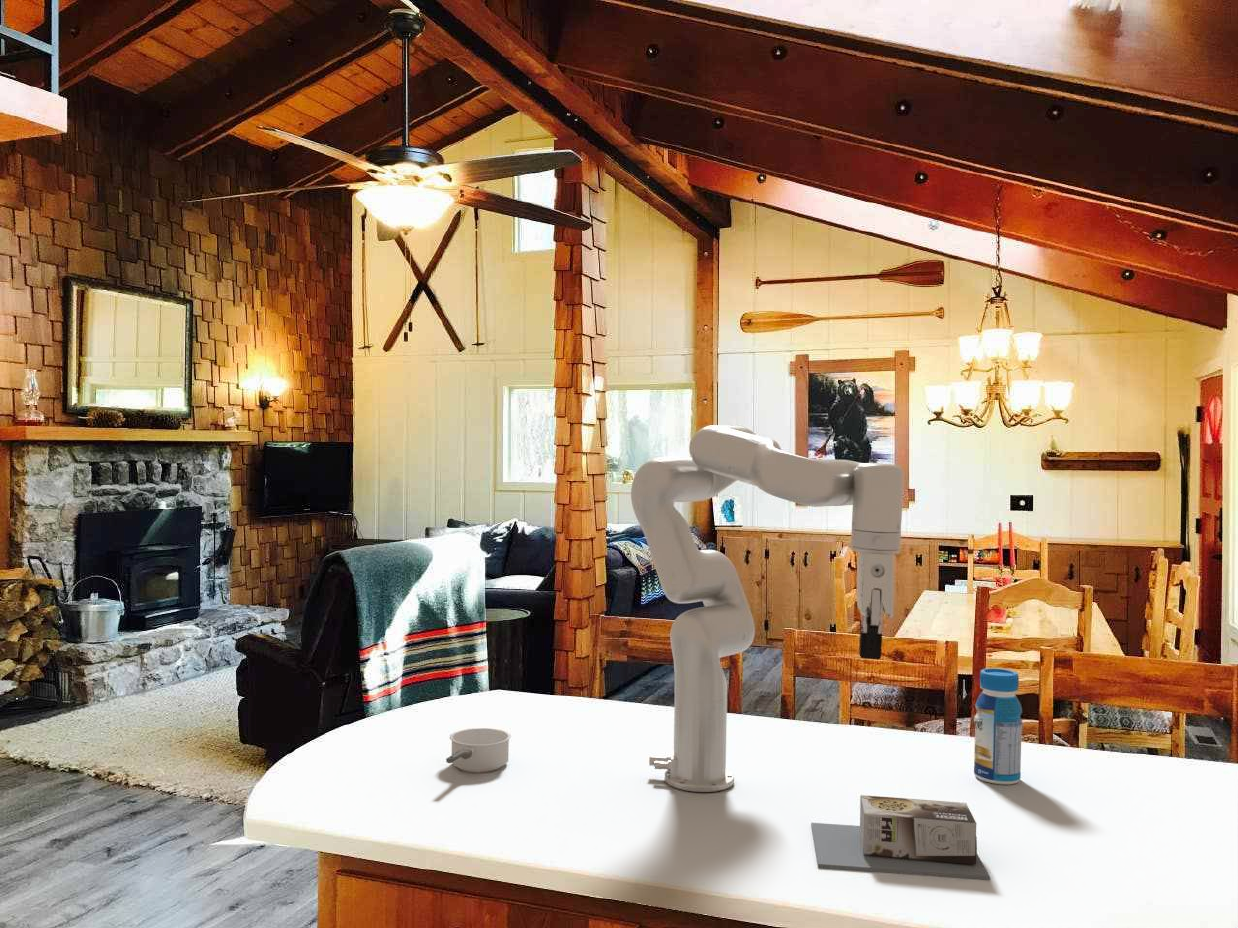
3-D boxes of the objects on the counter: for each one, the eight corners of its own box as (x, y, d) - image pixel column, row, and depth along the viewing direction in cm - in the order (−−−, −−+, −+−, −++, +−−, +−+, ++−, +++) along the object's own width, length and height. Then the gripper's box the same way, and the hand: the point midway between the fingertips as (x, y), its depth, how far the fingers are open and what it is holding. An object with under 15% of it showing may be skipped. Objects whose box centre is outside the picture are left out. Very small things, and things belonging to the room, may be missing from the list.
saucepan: (418, 786, 173) (419, 755, 173) (463, 753, 192) (464, 725, 192) (479, 793, 170) (479, 761, 170) (518, 759, 190) (519, 730, 189)
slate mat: (817, 867, 142) (818, 863, 142) (811, 825, 158) (811, 822, 158) (989, 879, 139) (989, 876, 139) (965, 835, 155) (965, 832, 155)
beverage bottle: (1016, 789, 177) (1019, 679, 177) (968, 780, 181) (970, 672, 181) (1025, 776, 184) (1027, 670, 184) (978, 767, 189) (980, 664, 188)
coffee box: (862, 856, 145) (977, 866, 142) (863, 812, 145) (977, 822, 142) (859, 834, 154) (967, 843, 151) (860, 793, 154) (968, 801, 151)
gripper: (906, 548, 146) (900, 670, 146) (894, 538, 160) (888, 649, 161) (855, 545, 147) (849, 666, 147) (847, 535, 161) (842, 645, 162)
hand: (869, 657), depth 154 cm, fingers closed
